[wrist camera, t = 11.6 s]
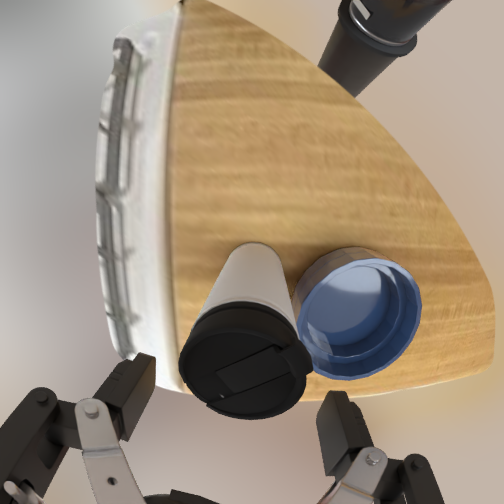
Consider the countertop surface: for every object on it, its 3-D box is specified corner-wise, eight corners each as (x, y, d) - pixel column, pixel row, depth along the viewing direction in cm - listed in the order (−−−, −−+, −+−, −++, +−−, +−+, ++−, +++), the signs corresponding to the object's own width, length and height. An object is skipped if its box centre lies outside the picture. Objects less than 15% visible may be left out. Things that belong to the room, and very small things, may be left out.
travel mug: (294, 276, 31) (336, 398, 11) (245, 304, 32) (223, 442, 12) (265, 229, 30) (270, 299, 10) (215, 260, 31) (145, 364, 11)
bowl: (307, 234, 30) (318, 244, 24) (412, 259, 30) (438, 272, 24) (277, 344, 33) (280, 373, 27) (376, 357, 33) (391, 382, 27)
